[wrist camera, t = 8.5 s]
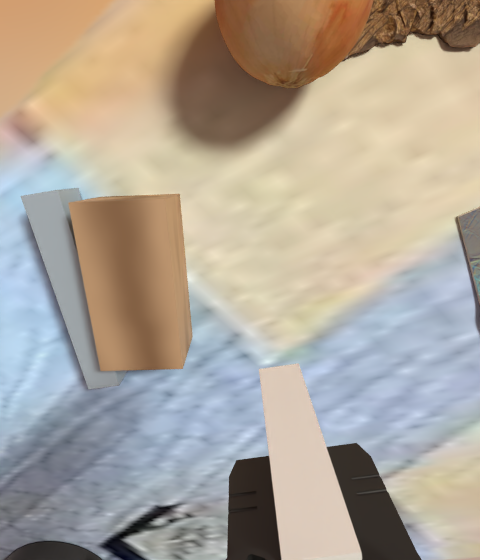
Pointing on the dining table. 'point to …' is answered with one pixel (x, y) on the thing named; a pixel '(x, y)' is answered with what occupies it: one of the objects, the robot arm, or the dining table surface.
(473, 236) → the relief map
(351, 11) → the onion
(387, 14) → the wooden fragment
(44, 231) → the grey rectangular bar
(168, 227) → the block
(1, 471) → the dining table surface
